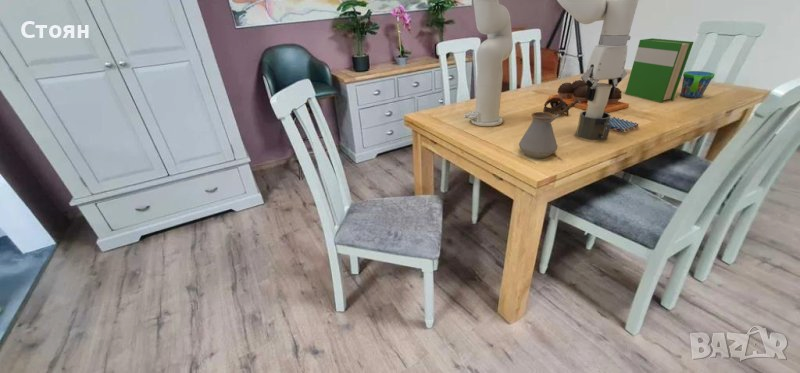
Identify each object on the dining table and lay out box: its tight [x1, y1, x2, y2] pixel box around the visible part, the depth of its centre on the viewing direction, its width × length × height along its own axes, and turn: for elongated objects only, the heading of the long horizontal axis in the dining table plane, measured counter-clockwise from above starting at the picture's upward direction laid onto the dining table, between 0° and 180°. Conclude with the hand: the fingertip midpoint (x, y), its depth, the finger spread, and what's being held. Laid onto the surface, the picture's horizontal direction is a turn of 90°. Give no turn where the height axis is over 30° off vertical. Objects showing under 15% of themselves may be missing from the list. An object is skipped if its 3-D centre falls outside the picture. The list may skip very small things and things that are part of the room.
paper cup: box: [585, 82, 612, 118], centre depth 112 cm, size 6×6×13 cm
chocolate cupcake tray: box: [548, 79, 630, 113], centre depth 149 cm, size 28×17×8 cm, turn 25°
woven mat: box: [609, 116, 640, 134], centre depth 123 cm, size 10×11×2 cm
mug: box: [575, 110, 612, 141], centre depth 114 cm, size 12×9×8 cm
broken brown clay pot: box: [542, 97, 570, 116], centre depth 139 cm, size 12×10×8 cm
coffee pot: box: [518, 100, 581, 159], centre depth 106 cm, size 21×12×15 cm, turn 117°
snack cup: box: [680, 70, 715, 99], centre depth 149 cm, size 16×10×10 cm
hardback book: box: [624, 38, 694, 103], centre depth 148 cm, size 18×7×24 cm, turn 20°
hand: (598, 98), depth 111 cm, fingers closed on paper cup, 5 cm apart
